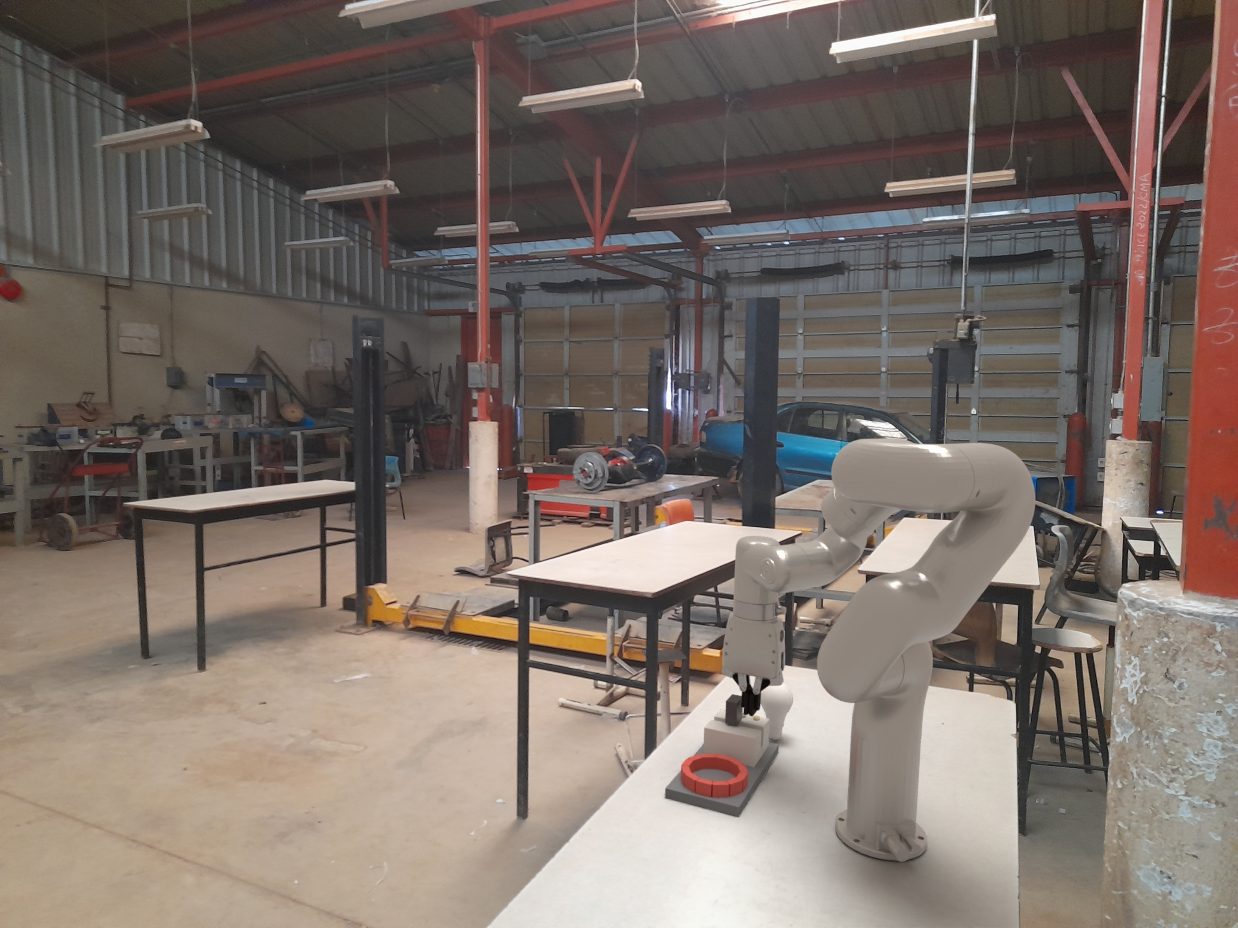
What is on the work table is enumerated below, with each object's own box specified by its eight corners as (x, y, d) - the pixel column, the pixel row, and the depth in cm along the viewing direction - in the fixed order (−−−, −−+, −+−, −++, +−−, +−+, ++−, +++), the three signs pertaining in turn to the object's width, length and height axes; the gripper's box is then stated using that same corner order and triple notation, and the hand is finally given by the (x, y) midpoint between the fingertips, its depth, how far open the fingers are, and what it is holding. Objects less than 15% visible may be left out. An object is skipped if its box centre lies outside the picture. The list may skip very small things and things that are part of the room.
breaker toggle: (735, 744, 135) (737, 703, 134) (724, 742, 135) (725, 700, 135) (741, 736, 138) (743, 696, 137) (730, 734, 139) (732, 693, 138)
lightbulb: (789, 733, 148) (791, 677, 147) (793, 747, 141) (795, 689, 140) (756, 731, 148) (758, 675, 147) (759, 745, 142) (761, 687, 141)
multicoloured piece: (738, 816, 118) (740, 772, 117) (665, 797, 123) (666, 755, 122) (778, 752, 139) (780, 715, 139) (714, 738, 145) (715, 702, 144)
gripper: (804, 610, 133) (798, 713, 135) (720, 597, 140) (716, 696, 142) (793, 621, 127) (787, 730, 128) (706, 607, 133) (702, 711, 135)
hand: (750, 712), depth 135 cm, fingers closed
